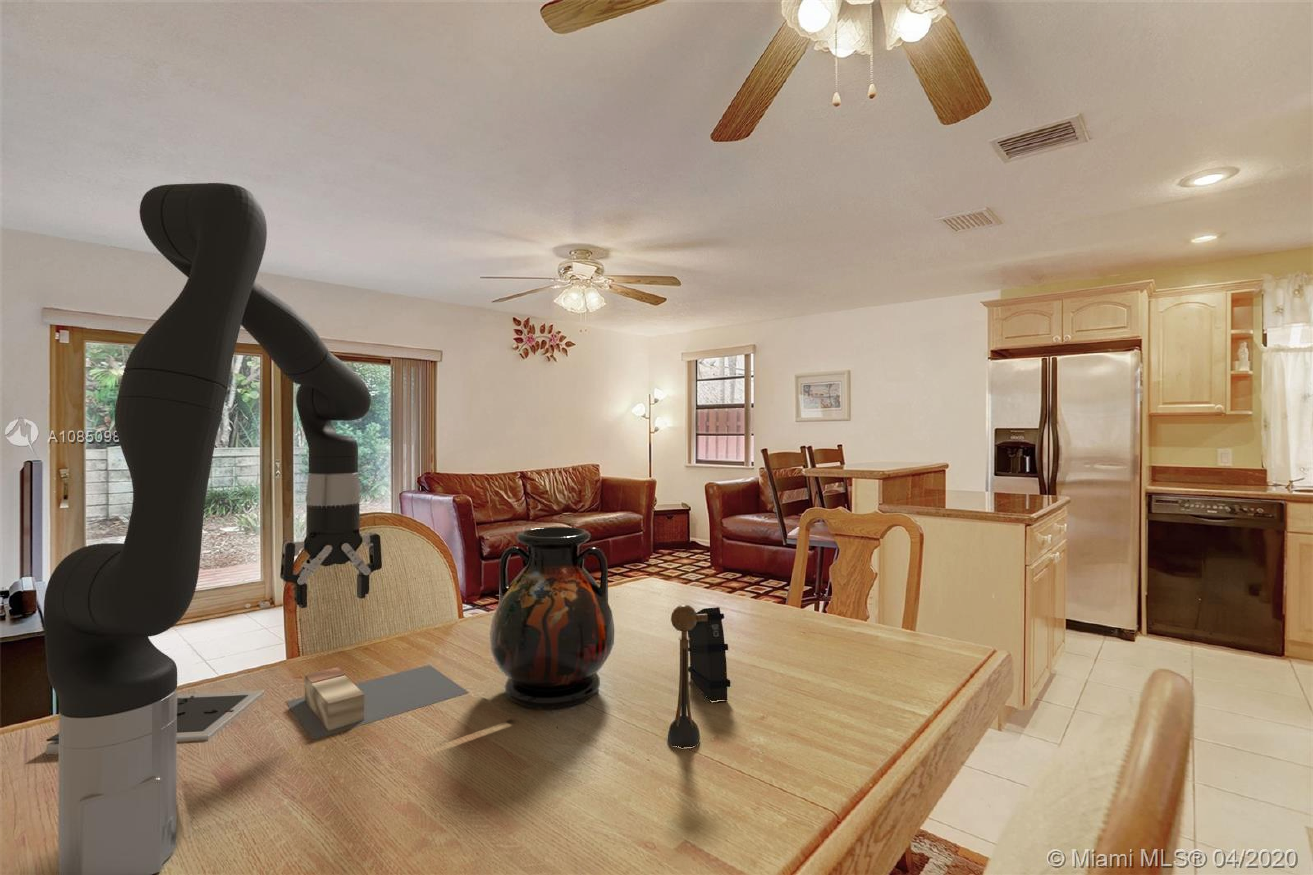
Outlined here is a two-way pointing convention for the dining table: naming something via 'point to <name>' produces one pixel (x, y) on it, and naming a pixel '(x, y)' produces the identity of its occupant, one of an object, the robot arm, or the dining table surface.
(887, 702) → the dining table surface
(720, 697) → the black banded case
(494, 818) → the dining table surface
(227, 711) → the picture frame
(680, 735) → the wooden tabletop sculpture
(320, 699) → the beige wooden block
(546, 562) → the amphora vase
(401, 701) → the rubber mat
